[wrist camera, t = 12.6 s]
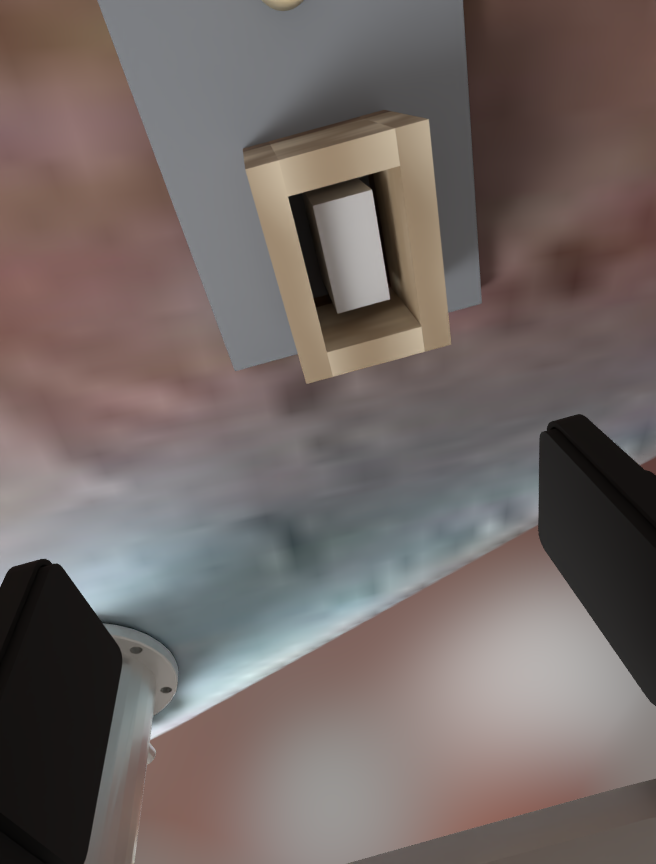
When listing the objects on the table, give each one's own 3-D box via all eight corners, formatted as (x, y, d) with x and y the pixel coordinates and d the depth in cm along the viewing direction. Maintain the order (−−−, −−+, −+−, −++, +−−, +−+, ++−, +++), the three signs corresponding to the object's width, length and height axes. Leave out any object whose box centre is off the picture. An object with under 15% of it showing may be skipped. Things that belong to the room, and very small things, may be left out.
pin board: (470, 293, 28) (520, 339, 23) (234, 358, 28) (235, 417, 24) (434, -205, 18) (508, -309, 13) (66, -102, 18) (4, -169, 13)
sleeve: (384, 109, 22) (428, 118, 17) (410, 294, 26) (451, 344, 21) (242, 148, 22) (245, 169, 17) (292, 326, 26) (306, 384, 21)
